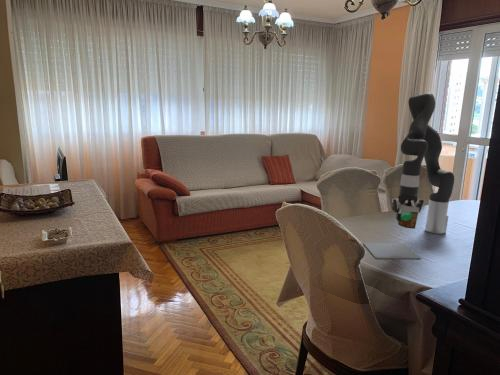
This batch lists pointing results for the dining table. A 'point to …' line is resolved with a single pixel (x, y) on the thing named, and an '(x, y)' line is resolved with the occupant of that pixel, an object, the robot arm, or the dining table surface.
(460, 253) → the dining table surface
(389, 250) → the felt mat
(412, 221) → the food container
